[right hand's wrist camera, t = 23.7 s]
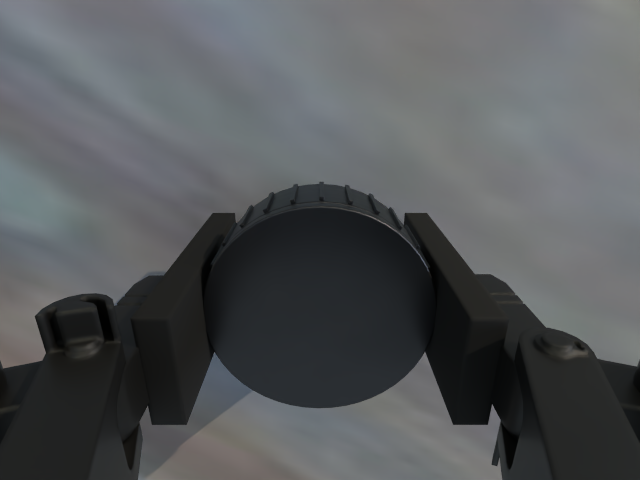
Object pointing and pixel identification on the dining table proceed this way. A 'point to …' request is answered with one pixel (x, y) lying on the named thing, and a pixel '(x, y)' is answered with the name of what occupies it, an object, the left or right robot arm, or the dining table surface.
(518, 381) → the right robot arm
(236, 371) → the lid
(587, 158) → the dining table surface
